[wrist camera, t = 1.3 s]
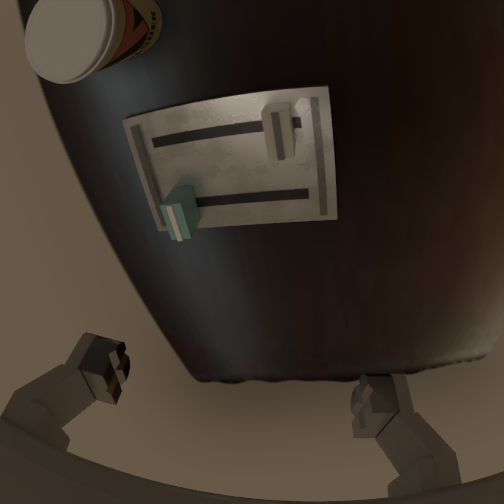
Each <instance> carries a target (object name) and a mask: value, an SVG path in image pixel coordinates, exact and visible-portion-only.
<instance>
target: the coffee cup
mask: <svg viewBox="0 0 504 504" xmlns="http://www.w3.org/2000/svg"><path fill="white" fill-rule="evenodd" d="M161 28H162V14H161V10H160V8H159V6H158V5H157V4H156V2H155V1H154V0H39V1H38V3H37V4H36V5H35V7H34V9H33V11H32V13H31V15H30V17H29V20H28V23H27V27H26V32H25V49H26V54H27V57H28V60H29V62H30V64H31V66H32V67H33V69H34V70H35V71H36V72H37V74H39V75H40V76H41V77H43V78H44V79H47V80H49V81H52V82H55V83H60V84H67V83H73V82H76V81H79V80H81V79H83V78H85V77H87V76H88V75H90V74H92V73H95V72H97V71H100V70H102V69H105V68H107V67H110V66H112V65H115V64H118V63H120V62H123V61H125V60H128V59H131V58H134V57H136V56H139V55H141V54H142V53H144V52H146V51H147V50H148V49H149V48H151V47H152V45H153V44H154V43H155V42H156V40H157V39H158V37H159V34H160V32H161Z"/></svg>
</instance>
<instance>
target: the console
mask: <svg viewBox="0 0 504 504" xmlns="http://www.w3.org/2000/svg"><path fill="white" fill-rule="evenodd" d="M283 102H290V104H291V111H292V119H293V126H294V134H295V142H296V146H295V158H285V160H278V159H271V160H268V155H267V149H266V143H265V136H264V130H263V124H262V118H261V112H262V110H263V108H264V106H265V104H274V103H283ZM122 121H123V125H124V128H125V132H126V135H127V138H128V141H129V145H130V148H131V151H132V154H133V157H134V161H135V164H136V167H137V170H138V173H139V176H140V179H141V182H142V185H143V188H144V191H145V194H146V197H147V200H148V203H149V205H150V208H151V211H152V214H153V217H154V219H155V222H156V225H157V228H158V230H159V231H168V228H167V225H166V222H165V219H164V216H163V213H162V211H161V208H160V205H161V203H162V202H163V201H164V199H165V198H166V197H167V195H168V194H169V193H170V191H171V190H172V189H173V188H180V187H188V186H192V189H193V193H194V196H195V200H196V204H197V207H198V211H199V214H200V218H201V220H200V222H199V224H198V226H197V228H207V227H220V226H235V225H249V224H265V223H281V222H299V221H317V220H337V198H336V176H335V159H334V145H333V132H332V120H331V109H330V99H329V89H328V85H327V84H317V85H303V86H292V87H281V88H272V89H264V90H256V91H248V92H241V93H235V94H228V95H222V96H216V97H211V98H205V99H200V100H195V101H190V102H185V103H180V104H176V105H171V106H167V107H163V108H158V109H154V110H150V111H146V112H142V113H139V114H135V115H131V116H128V117H126V118H125V119H123V120H122Z"/></svg>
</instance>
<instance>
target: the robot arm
mask: <svg viewBox="0 0 504 504" xmlns="http://www.w3.org/2000/svg"><path fill="white" fill-rule="evenodd" d="M125 350H126V346H125V343H124V342H121V341H117V340H113V339H109V338H105V337H102V336H98V335H95V334H91V333H87V332H86V333H84V334H83V335H82V336H81V338H80V340H79V341H78V343H77V344H76V346H75V348H74V350H73V351H72V353H71V355H70V356H69V358H68V360H67V362H66V363H65V365H63V364H61V365H59V366H57V367H55V368H54V369H52V370H50V371H48V372H47V373H45V374H44V375H42V376H40V377H38V378H36V379H35V380H33V381H31V382H30V383H28V384H26V385H24V386H23V387H21V388H19V389H18V390H16V391H15V392H14V393H13V395H12V397H11V399H10V400H9V402H8V404H7V406H6V408H5V409H4V411H3V413H2V415H1V417H0V504H504V472H500V473H498V474H494V475H491V476H488V477H485V478H481V479H478V480H474V481H471V482H467V483H463V484H462V483H461V477H460V472H459V467H458V462H457V458H456V453H455V452H454V451H453V450H452V449H451V447H450V446H449V445H448V444H447V443H445V441H444V440H443V439H442V438H441V437H440V436H439V435H438V434H437V432H436V431H435V430H434V429H433V428H432V427H431V426H430V425H429V424H428V423H427V422H426V421H425V420H424V419H423V418H422V417H421V415H420V414H419V413H417V412H416V413H414V409H413V405H412V401H411V397H410V392H409V388H408V384H407V380H406V377H405V375H404V374H369V373H364V374H363V375H362V376H361V377H360V379H359V381H360V384H359V385H358V386H356V387H355V388H354V390H353V392H352V397H351V412H352V413H353V414H354V415H355V416H356V417H355V418H354V420H353V421H352V427H353V438H376V439H375V440H376V441H377V442H378V444H379V446H380V447H381V448H382V450H383V451H384V453H385V454H386V456H387V457H388V459H389V460H390V461H391V463H392V464H393V466H394V467H395V469H396V470H397V472H398V473H399V475H400V476H399V477H397V478H396V479H395V480H393V481H392V482H391V483H390V484H389V485H388V497H387V498H378V499H368V500H355V501H354V500H353V501H328V502H302V501H277V500H264V499H252V498H243V497H235V496H228V495H221V494H214V493H208V492H202V491H197V490H192V489H187V488H182V487H177V486H173V485H169V484H164V483H160V482H156V481H152V480H149V479H145V478H141V477H138V476H134V475H131V474H128V473H125V472H121V471H118V470H115V469H112V468H109V467H106V466H103V465H101V464H98V463H95V462H92V461H90V460H87V459H84V458H82V457H79V456H77V455H74V454H72V453H69V452H67V451H66V450H67V447H68V445H69V442H70V439H69V437H68V435H67V434H66V433H65V432H64V431H63V429H62V427H63V426H65V425H66V424H67V423H68V422H70V421H71V420H72V419H73V418H75V417H76V416H77V415H78V414H80V413H81V412H82V411H83V410H85V409H86V408H87V407H88V406H90V405H91V404H92V403H93V402H95V399H96V400H99V401H103V402H106V403H110V404H114V405H116V404H117V402H118V399H119V397H120V395H121V392H122V389H121V384H122V383H124V382H125V381H126V380H127V377H128V375H129V371H130V360H129V356H127V355H126V354H125V353H124V352H125Z"/></svg>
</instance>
